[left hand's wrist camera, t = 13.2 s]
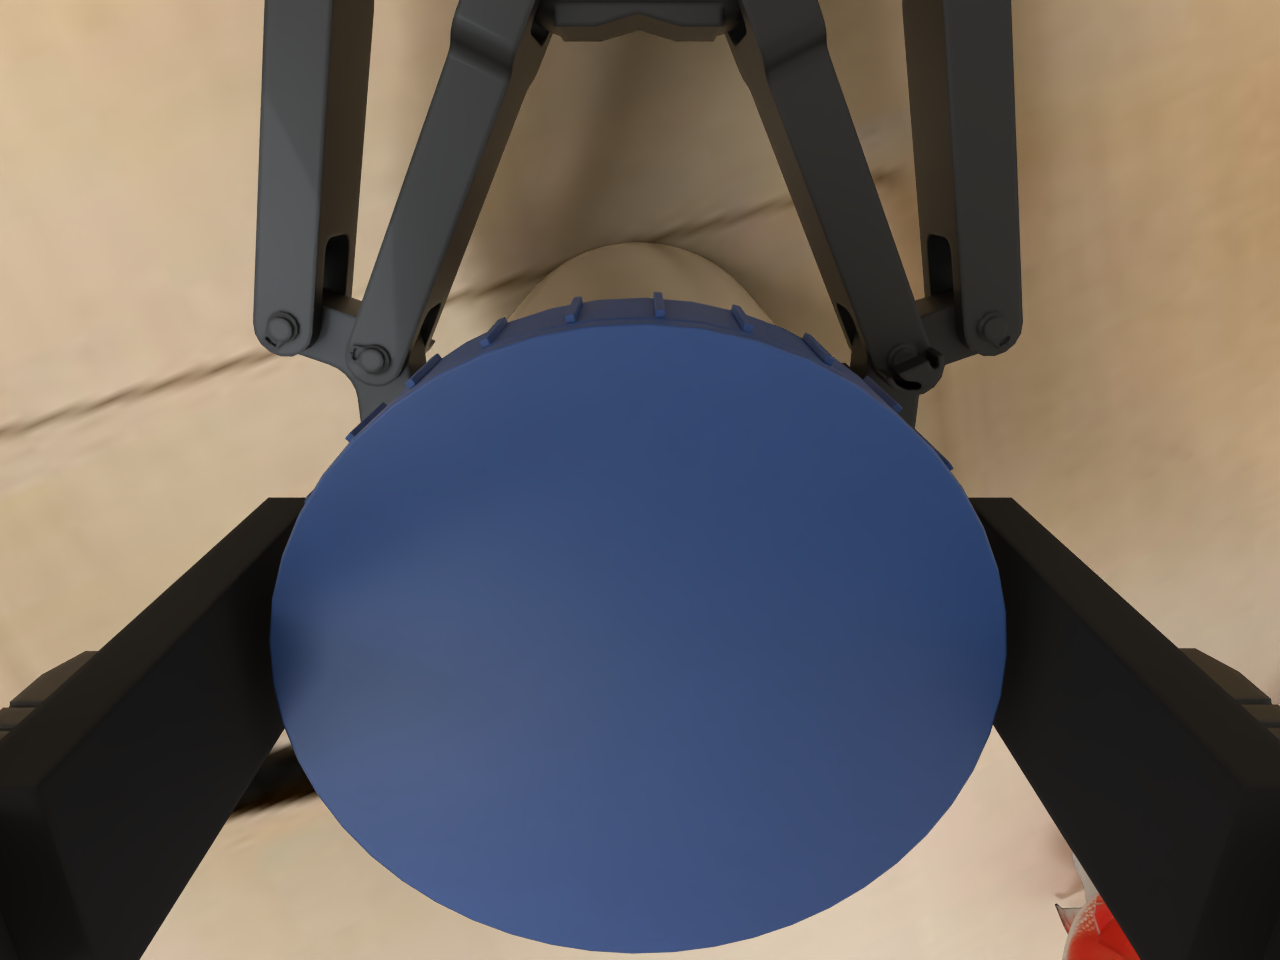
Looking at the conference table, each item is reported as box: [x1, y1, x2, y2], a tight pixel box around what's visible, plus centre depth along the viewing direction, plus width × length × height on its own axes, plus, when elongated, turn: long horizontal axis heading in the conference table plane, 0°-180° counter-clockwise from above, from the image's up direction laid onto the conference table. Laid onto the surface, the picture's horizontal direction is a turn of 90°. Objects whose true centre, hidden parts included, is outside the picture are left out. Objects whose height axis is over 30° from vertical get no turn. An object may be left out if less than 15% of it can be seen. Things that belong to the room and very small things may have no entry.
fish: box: [1055, 853, 1140, 960], centre depth 27 cm, size 11×16×10 cm
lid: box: [269, 292, 1007, 953], centre depth 11 cm, size 10×10×2 cm
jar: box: [507, 242, 775, 325], centre depth 18 cm, size 8×8×15 cm
